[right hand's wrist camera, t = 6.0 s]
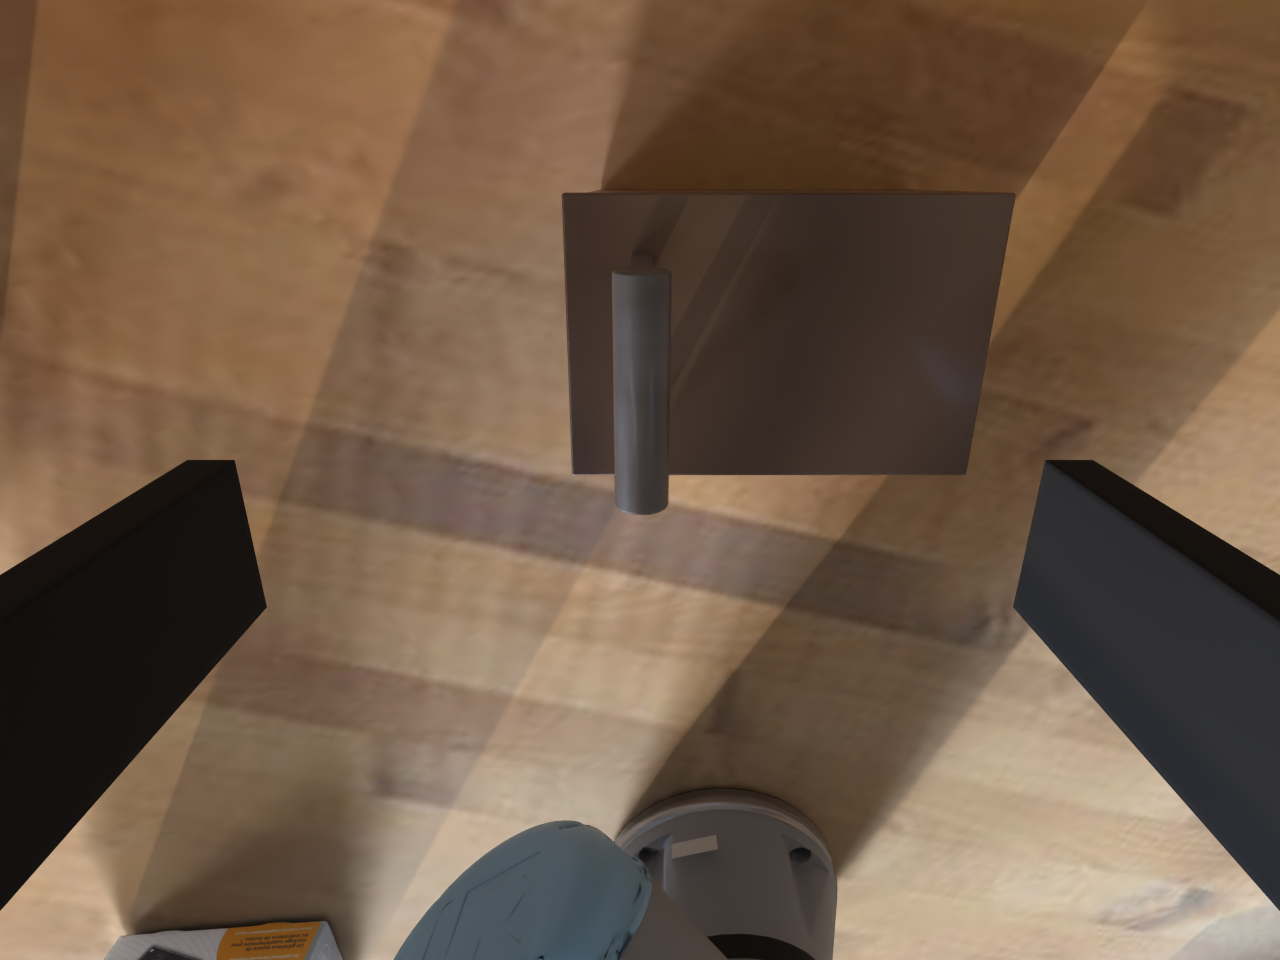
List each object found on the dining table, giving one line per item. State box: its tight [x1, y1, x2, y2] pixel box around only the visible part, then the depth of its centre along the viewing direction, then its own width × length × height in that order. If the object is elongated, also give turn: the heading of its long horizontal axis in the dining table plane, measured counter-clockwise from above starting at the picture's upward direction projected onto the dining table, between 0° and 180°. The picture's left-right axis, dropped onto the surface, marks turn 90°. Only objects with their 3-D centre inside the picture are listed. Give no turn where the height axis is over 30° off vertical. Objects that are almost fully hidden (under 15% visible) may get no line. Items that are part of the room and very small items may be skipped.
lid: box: [562, 193, 1015, 515], centre depth 23 cm, size 15×10×9 cm
